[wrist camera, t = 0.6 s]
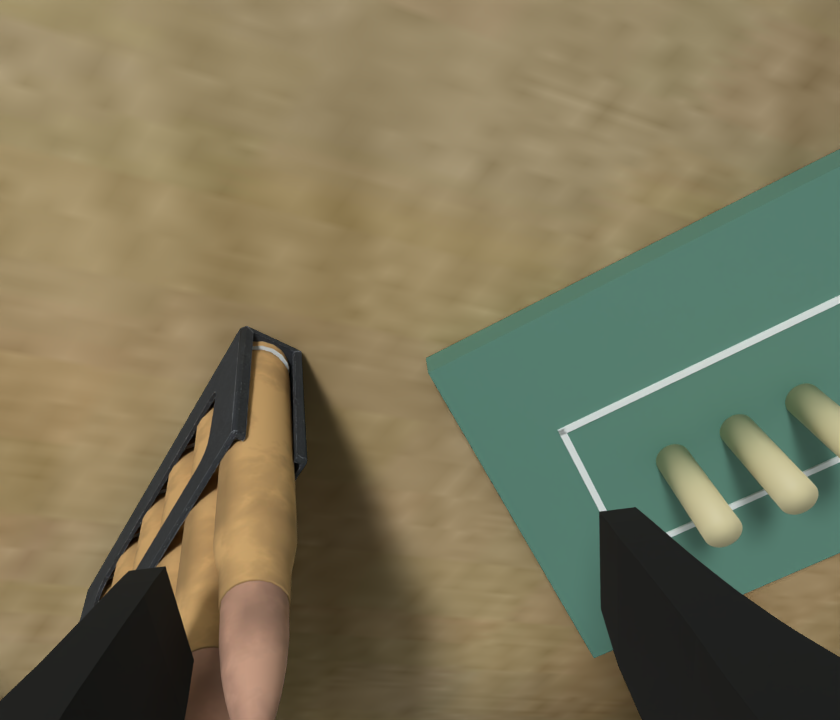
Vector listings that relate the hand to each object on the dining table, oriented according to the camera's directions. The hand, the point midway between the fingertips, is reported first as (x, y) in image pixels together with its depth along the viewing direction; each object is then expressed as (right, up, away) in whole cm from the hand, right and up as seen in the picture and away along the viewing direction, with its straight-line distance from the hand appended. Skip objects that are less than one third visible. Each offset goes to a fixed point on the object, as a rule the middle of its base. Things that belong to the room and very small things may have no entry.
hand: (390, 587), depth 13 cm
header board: (+10, +2, +10) cm, 14 cm away
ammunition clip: (-6, 0, +10) cm, 12 cm away
